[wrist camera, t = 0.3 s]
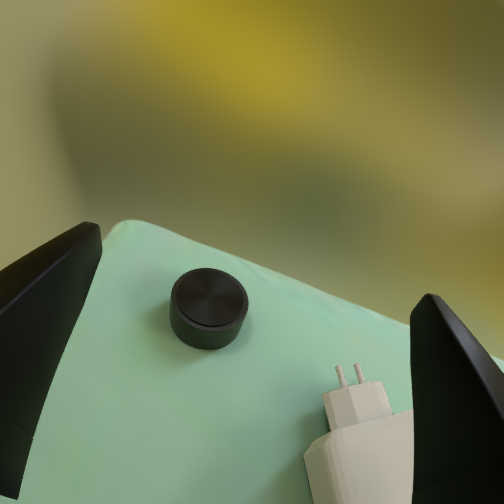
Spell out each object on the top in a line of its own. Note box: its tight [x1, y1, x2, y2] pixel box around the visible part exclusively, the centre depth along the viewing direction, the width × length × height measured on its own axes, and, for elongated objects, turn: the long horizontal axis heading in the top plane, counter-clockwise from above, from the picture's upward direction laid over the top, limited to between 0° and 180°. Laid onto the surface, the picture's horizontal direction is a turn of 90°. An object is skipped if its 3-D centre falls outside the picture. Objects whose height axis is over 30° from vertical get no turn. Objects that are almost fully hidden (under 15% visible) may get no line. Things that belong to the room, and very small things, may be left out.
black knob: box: [170, 268, 249, 350], centre depth 26 cm, size 6×6×3 cm
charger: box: [303, 363, 414, 504], centre depth 19 cm, size 5×9×15 cm
